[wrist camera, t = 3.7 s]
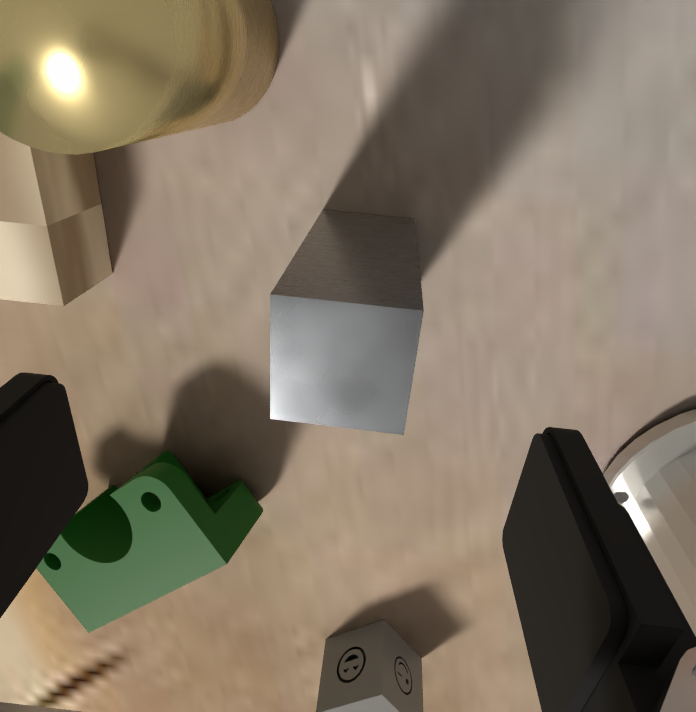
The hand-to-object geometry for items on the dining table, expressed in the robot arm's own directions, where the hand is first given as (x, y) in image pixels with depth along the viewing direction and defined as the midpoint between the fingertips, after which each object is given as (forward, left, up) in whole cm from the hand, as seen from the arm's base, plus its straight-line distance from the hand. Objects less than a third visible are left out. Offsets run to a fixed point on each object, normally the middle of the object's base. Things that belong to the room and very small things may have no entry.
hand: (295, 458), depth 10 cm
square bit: (-1, 0, -14) cm, 14 cm away
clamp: (+10, +17, -15) cm, 24 cm away
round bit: (+6, -8, -14) cm, 18 cm away
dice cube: (-4, +29, -15) cm, 33 cm away
